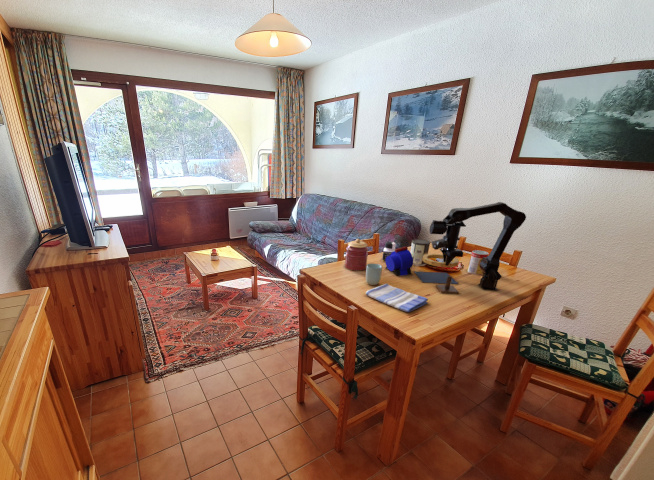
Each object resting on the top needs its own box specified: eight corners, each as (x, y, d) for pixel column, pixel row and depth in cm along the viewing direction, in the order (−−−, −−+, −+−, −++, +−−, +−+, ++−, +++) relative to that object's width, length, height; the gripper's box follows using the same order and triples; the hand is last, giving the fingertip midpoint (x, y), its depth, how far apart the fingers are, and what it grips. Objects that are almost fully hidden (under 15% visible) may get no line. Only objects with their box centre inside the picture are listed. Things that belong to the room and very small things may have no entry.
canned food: (485, 272, 178) (491, 252, 173) (479, 275, 174) (484, 255, 169) (471, 268, 184) (476, 249, 179) (464, 271, 180) (469, 251, 175)
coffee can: (421, 260, 198) (426, 239, 192) (428, 266, 188) (433, 243, 183) (405, 260, 198) (409, 239, 192) (411, 265, 188) (415, 243, 183)
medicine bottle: (381, 261, 196) (384, 243, 191) (382, 258, 202) (385, 240, 197) (393, 262, 193) (396, 244, 189) (394, 259, 200) (397, 241, 195)
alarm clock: (412, 274, 175) (417, 249, 169) (393, 276, 173) (397, 250, 167) (399, 267, 186) (403, 243, 180) (381, 269, 183) (385, 244, 178)
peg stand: (451, 287, 158) (455, 273, 156) (458, 294, 151) (461, 280, 148) (435, 286, 159) (438, 273, 156) (441, 293, 152) (444, 279, 149)
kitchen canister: (349, 262, 195) (352, 234, 188) (369, 266, 188) (373, 238, 181) (340, 268, 185) (343, 239, 178) (361, 272, 178) (364, 242, 171)
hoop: (450, 257, 172) (451, 254, 171) (463, 267, 157) (464, 264, 156) (418, 256, 174) (419, 253, 173) (428, 266, 158) (429, 262, 158)
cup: (380, 287, 159) (383, 269, 155) (365, 286, 160) (367, 267, 156) (379, 281, 166) (381, 263, 162) (364, 280, 167) (366, 262, 163)
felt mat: (446, 273, 177) (446, 272, 177) (458, 284, 162) (458, 283, 162) (414, 271, 179) (414, 271, 179) (422, 282, 164) (422, 282, 164)
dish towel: (385, 286, 159) (386, 281, 158) (429, 303, 142) (430, 298, 141) (363, 295, 150) (364, 290, 148) (407, 314, 132) (408, 308, 131)
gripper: (428, 230, 161) (423, 258, 167) (442, 239, 144) (435, 270, 150) (451, 230, 160) (445, 259, 166) (467, 240, 143) (459, 271, 149)
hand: (445, 264), depth 158 cm, fingers closed on hoop, 2 cm apart
